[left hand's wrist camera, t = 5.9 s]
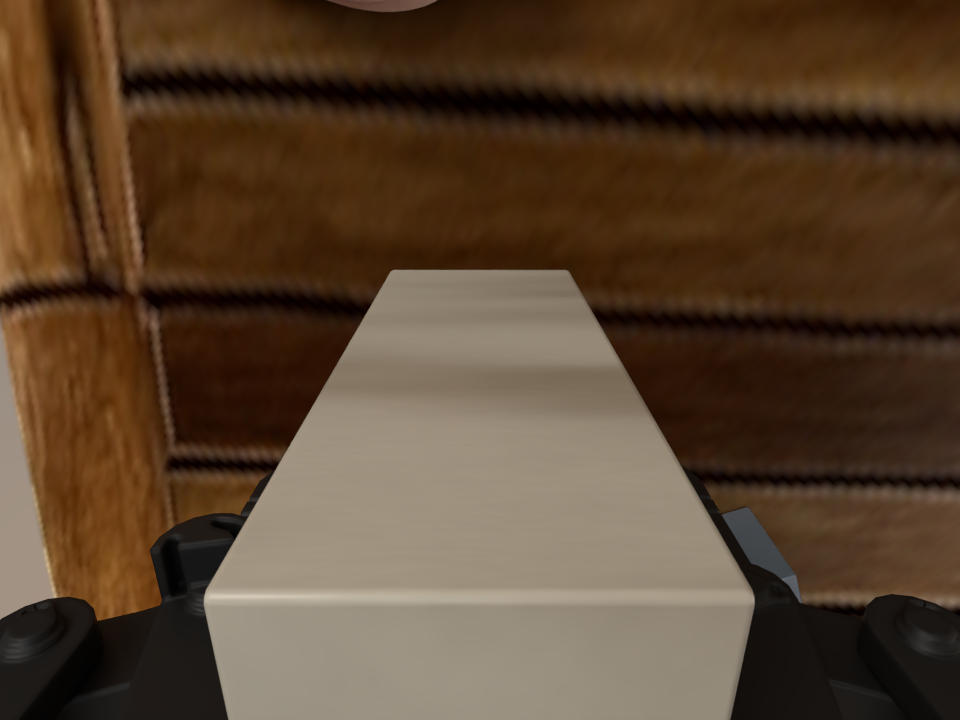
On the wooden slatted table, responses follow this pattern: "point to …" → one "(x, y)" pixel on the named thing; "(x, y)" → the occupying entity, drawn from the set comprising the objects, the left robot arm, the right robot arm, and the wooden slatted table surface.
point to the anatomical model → (384, 4)
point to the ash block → (479, 530)
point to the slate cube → (760, 546)
